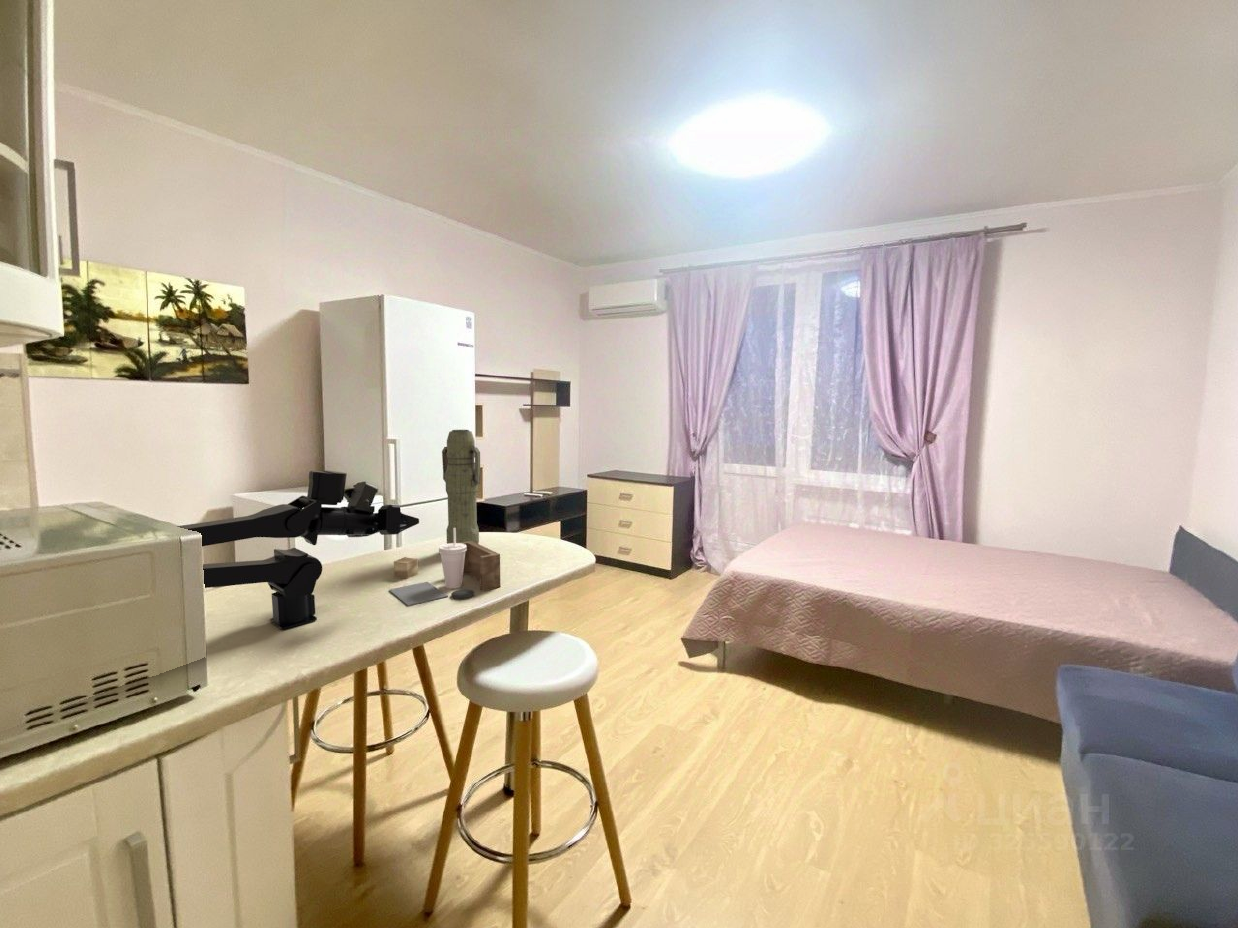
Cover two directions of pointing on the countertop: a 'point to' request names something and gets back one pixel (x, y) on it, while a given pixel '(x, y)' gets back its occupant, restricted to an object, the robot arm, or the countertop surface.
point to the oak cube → (405, 567)
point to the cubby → (482, 565)
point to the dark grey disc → (462, 594)
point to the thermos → (461, 485)
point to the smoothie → (453, 562)
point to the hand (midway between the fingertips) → (407, 522)
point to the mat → (418, 593)
